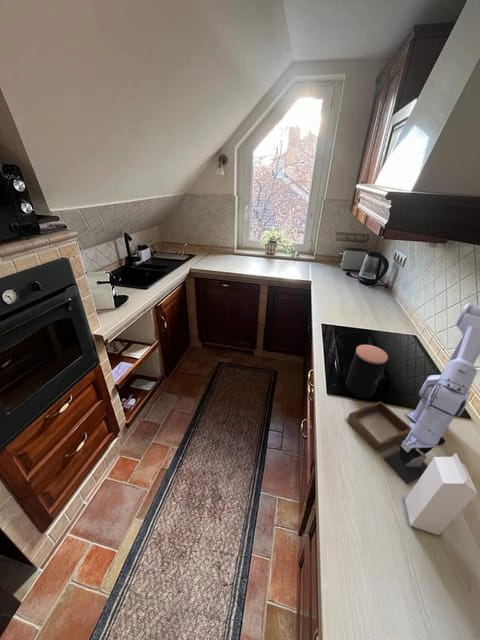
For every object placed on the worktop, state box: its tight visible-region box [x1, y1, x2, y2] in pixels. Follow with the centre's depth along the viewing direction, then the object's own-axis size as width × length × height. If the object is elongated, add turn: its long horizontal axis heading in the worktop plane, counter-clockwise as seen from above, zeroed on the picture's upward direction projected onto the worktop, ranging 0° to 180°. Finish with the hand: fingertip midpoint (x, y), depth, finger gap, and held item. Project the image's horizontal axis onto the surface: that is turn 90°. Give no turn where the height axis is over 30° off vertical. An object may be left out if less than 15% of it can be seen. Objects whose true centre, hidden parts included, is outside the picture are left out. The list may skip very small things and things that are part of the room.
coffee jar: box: [345, 344, 389, 399], centre depth 96 cm, size 11×11×18 cm
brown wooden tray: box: [346, 401, 411, 453], centre depth 84 cm, size 15×13×4 cm
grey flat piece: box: [406, 450, 427, 467], centre depth 72 cm, size 7×2×8 cm, turn 92°
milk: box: [404, 452, 478, 536], centre depth 58 cm, size 6×6×22 cm
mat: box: [383, 450, 429, 485], centre depth 74 cm, size 10×8×1 cm
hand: (412, 455), depth 72 cm, fingers open, 7 cm apart
